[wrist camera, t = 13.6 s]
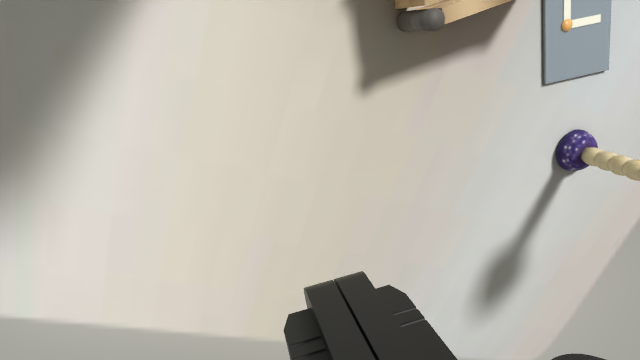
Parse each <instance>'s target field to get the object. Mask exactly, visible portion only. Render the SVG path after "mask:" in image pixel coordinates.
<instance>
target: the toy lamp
mask: <svg viewBox="0 0 640 360" xmlns="http://www.w3.org/2000/svg"><path fill="white" fill-rule="evenodd" d="M557 161H558V163H559V165H560V166H561V167H562V168H564V169H566V170H571V171H577V170H581V169H584V168H586V167H588V166H589V165H591V166H597V167H599V168H600V169H603V170H607V171H611V172H613V173H614V174H617V175H623V176H624V175H625V176H627V177H628V178H630V179H632V180H637V181H640V160H632V159H630V158H629V157H627V156H623V155H616V154H614V153H612V152H609V151H602V150H601V149H598V146H597V142H596V140H595V139H594V137H593V136H592V135H591V134H589V133H588V132H586V131H584V130H573V131H571V132H569V133H568V134H567V135H565V137H564V138H563V139H562V140H561V141H560V143H559V146H558V148H557Z"/></svg>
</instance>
